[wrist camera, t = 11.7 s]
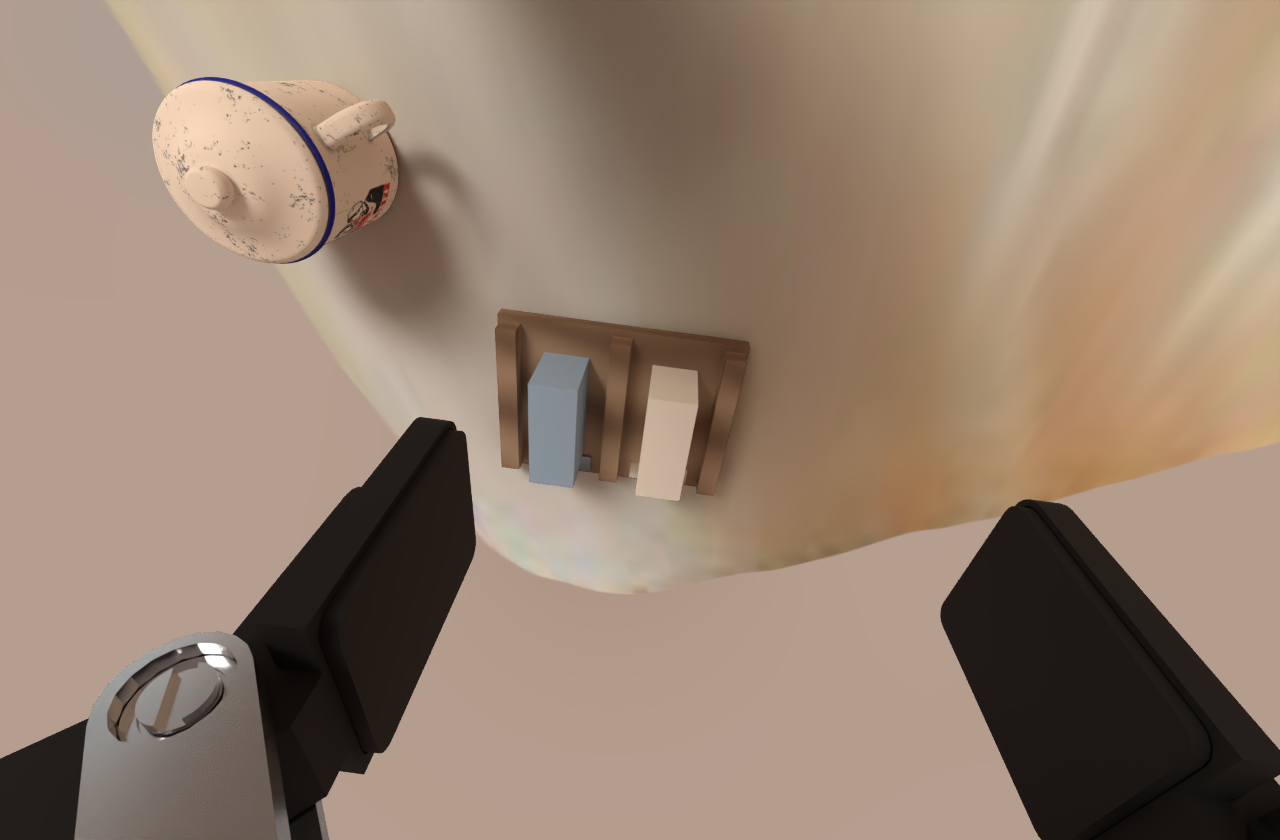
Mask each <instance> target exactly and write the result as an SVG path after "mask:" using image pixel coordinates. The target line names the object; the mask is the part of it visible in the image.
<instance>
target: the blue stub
mask: <svg viewBox="0 0 1280 840" xmlns="http://www.w3.org/2000/svg"><path fill="white" fill-rule="evenodd" d="M588 371H589V358H585V357H578V356H570V355H563V354H555V353H548V352H544V354H543V356H542V358H541V360H540V362H539V364H538V365H537V367H536V369H535V371H534V373H533V375H532V377H531V379H530V381H529V383H528V429H529V482H533V483H540V484H547V485H555V486H562V487H569V488H573V486H574V483H575V479H576V476H577V472H578V469H579V465H580V462H581V458H582V455H583V451H584V438H585V421H586V404H587V388H588Z"/></svg>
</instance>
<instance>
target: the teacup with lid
mask: <svg viewBox="0 0 1280 840" xmlns="http://www.w3.org/2000/svg"><path fill="white" fill-rule="evenodd" d="M394 123H395V115H394V113H393V111H392V110H391V108H390V106H389V105H388V104H387V103H386V102H385V101H383V100H379V99H371V100H366V101H362V102H361V101H360V100H359V99H357V98H356V97H355V96H353V95H352V94H350V93H349V92H347V91H345V90H344V89H342V88H340V87H337V86H335V85H332V84H329V83H326V82H322V81H315V80H300V81H264V82H237V81H234V80H230V79H225V78H218V77H204V78H197V79H193V80H190V81H187V82H185V83H183V84H181V85H180V86H178V87H177V88H176V89H174V90H173V91H172V92H170V93H169V94H168V95H167V96H166V98H165V99H164V100H163V101H162V103H161V105H160V107H159V108H158V111H157V114H156V116H155V121H154V125H153V148H154V153H155V158H156V161H157V165H158V168H159V171H160V174H161V176H162V178H163V181H164V183H165V185H166V187H167V188H168V190H169V192H170V194H171V195H172V197H173V198H174V200H175V201H176V203H177V204H178V206H179V207H180V208H181V210H182V211H183V212H184V213H185V214H186V216H187V217H188V218H189V219H190V220H191V221H192V222H193V223H194V224H195V225H196V226H197V227H198V228H199V229H200V230H201V231H202V232H204V233H205V234H206V235H207V236H208V237H210V238H211V239H212V240H214V241H215V242H217V243H218V244H220V245H221V246H223V247H224V248H226V249H228V250H230V251H232V252H234V253H236V254H238V255H241V256H243V257H246V258H249V259H252V260H255V261H260V262H266V263H277V264H286V263H294V262H298V261H302V260H304V259H306V258H309V257H310V256H312V255H314V254H315V253H316V252H317V251H319V250H320V249H321V248H322V247H323V245H325V244H327V243H329V242H331V241H333V240H335V239H337V238H339V237H341V236H344V235H346V234H348V233H350V232H352V231H354V230H356V229H358V228H360V227H362V226H365V225H367V224H369V223H371V222H373V221H375V220H377V219H378V218H380V217H381V216H382V215H383V214H384V213H385V212H386V211H387V210H388V209H389V207H390V206H391V204H392V202H393V200H394V198H395V195H396V192H397V187H398V165H397V159H396V155H395V152H394V148H393V146H392V143H391V141H390V139H389V137H388V135H387V133H386V132H387V131H388V130H389V129H390V128H391V127H392V126H393V125H394Z"/></svg>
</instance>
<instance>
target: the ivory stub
mask: <svg viewBox="0 0 1280 840" xmlns="http://www.w3.org/2000/svg"><path fill="white" fill-rule="evenodd" d="M697 410H698V371H694V370H687V369H679V368H672V367H665V366H657V365H653V366H652V374H651V381H650V388H649V396H648V403H647V410H646V418H645V425H644V432H643V440H642V447H641V454H640V462H639V469H638V477H637V484H636V492H635V495H638V496H645V497H653V498H660V499H667V500H675V501H679V499H680V494H681V489H682V484H683V479H684V474H685V469H686V464H687V459H688V454H689V449H690V444H691V440H692V435H693V430H694V425H695V420H696V415H697Z"/></svg>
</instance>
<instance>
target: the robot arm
mask: <svg viewBox="0 0 1280 840" xmlns="http://www.w3.org/2000/svg"><path fill="white" fill-rule="evenodd" d="M475 546H476V536H475V525H474V515H473V504H472V494H471V483H470V473H469V462H468V452H467V442H466V435H465V433H464V432H463V431H457V430H456V426H455V424H454V422H452V421H446V420H438V419H431V418H424V417H419V418H416V419H415V420H414V421H413V423H412V424H411V425H410V426H409V428H408V429H407V430H406V431H405V433H404V434H403V435H402V436H401V438H400V439H399V440H398V441H397V443H396V444H395V445H394V447H393V448H392V449H391V450H390V452H389V453H388V454H387V455H386V457H385V458H384V459H383V460H382V462H381V463H380V464H379V466H378V467H377V468H376V469H375V471H374V472H373V473H372V475H371V476H370V477H369V478H368V479H367V481H366V482H365V483H364V485H363V486H362V487H357V488H354V489H352V490H351V491H350V492H349V493H348V494H347V495H346V496H345V497H344V498H343V499H342V500H341V502H340V503H339V504H338V505H337V507H336V508H335V509H334V510H333V511H332V513H331V514H330V515H329V516H328V518H327V519H326V520H325V521H324V523H323V524H322V525H321V526H320V528H319V529H318V530H317V531H316V532H315V534H314V535H313V536H312V537H311V539H310V540H309V541H308V542H307V543H306V545H305V546H304V547H303V548H302V550H301V551H300V552H299V553H298V555H297V556H296V557H295V558H294V560H293V561H292V562H291V563H290V564H289V566H288V567H287V568H286V569H285V571H284V572H283V573H282V574H281V575H280V577H279V578H278V579H277V580H276V582H275V583H274V584H273V585H272V587H271V588H270V589H269V590H268V592H267V593H266V594H265V595H264V597H263V598H262V599H261V600H260V601H259V603H258V604H257V605H256V606H255V607H254V609H253V610H252V611H251V612H250V614H249V615H248V616H247V617H246V619H245V620H244V621H243V622H242V624H241V625H240V626H239V627H238V628H237V630H236V631H235V632H234V633H233V635H231V634H227V633H223V632H203V633H196V634H192V635H189V636H184V637H181V638H177V639H174V640H172V641H170V642H168V643H165V644H163V645H161V646H159V647H157V648H155V649H152V650H150V651H149V652H147V653H146V654H144V655H143V656H142V657H140V658H139V659H137V660H136V661H134V662H133V663H131V664H130V665H128V666H127V667H126V668H125V669H124V670H123V671H122V672H120V673H119V674H118V675H117V676H116V677H115V678H114V679H113V680H112V681H111V682H110V683H109V684H108V685H107V686H106V688H105V689H104V690H103V692H102V693H101V695H100V696H99V698H98V699H97V701H96V702H95V704H94V705H93V707H92V710H91V713H90V716H89V718H88V719H86V720H84V721H82V722H80V723H78V724H75V725H73V726H71V727H69V728H67V729H64V730H62V731H60V732H58V733H56V734H53V735H51V736H49V737H47V738H45V739H43V740H40V741H38V742H36V743H34V744H31V745H29V746H27V747H25V748H23V749H21V750H19V751H16V752H14V753H12V754H10V755H7V756H5V757H3V758H1V759H0V840H329V837H328V831H327V826H326V821H325V816H324V811H323V806H322V800H321V799H323V798H324V797H326V796H327V795H328V792H329V790H330V789H331V787H332V785H333V783H334V781H335V779H336V777H337V775H338V773H339V771H343V772H350V773H358V774H364V773H365V771H366V769H367V767H368V765H369V763H370V760H371V758H372V756H373V754H374V753H383V752H384V751H385V750H386V749H387V747H388V746H389V744H390V742H391V740H392V738H393V736H394V733H395V732H396V729H397V727H398V725H399V722H400V720H401V718H402V716H403V714H404V711H405V709H406V707H407V705H408V702H409V700H410V698H411V696H412V693H413V691H414V689H415V687H416V684H417V682H418V680H419V678H420V676H421V673H422V671H423V669H424V667H425V664H426V662H427V660H428V658H429V655H430V653H431V651H432V649H433V646H434V644H435V642H436V640H437V638H438V635H439V633H440V631H441V629H442V626H443V624H444V622H445V620H446V617H447V615H448V613H449V611H450V608H451V606H452V604H453V602H454V599H455V597H456V595H457V593H458V591H459V588H460V586H461V584H462V581H463V579H464V577H465V575H466V573H467V570H468V568H469V566H470V563H471V561H472V559H473V556H474V552H475ZM941 622H942V625H943V628H944V630H945V632H946V634H947V636H948V639H949V641H950V643H951V645H952V648H953V650H954V652H955V654H956V656H957V659H958V661H959V663H960V665H961V668H962V670H963V672H964V674H965V676H966V678H967V681H968V683H969V685H970V687H971V689H972V692H973V694H974V696H975V698H976V701H977V703H978V705H979V707H980V709H981V712H982V714H983V716H984V718H985V721H986V723H987V725H988V727H989V729H990V732H991V734H992V736H993V738H994V740H995V743H996V745H997V747H998V749H999V752H1000V754H1001V756H1002V758H1003V760H1004V763H1005V765H1006V767H1007V769H1008V772H1009V774H1010V776H1011V778H1012V780H1013V783H1014V785H1015V787H1016V789H1017V791H1018V793H1019V796H1020V798H1021V800H1022V802H1023V805H1024V807H1025V809H1026V811H1027V814H1028V816H1029V818H1030V820H1031V822H1032V825H1033V827H1034V829H1035V831H1036V832H1037V834H1038V836H1039V837H1040V839H1041V840H1280V785H1279V784H1278V783H1277V782H1276V781H1275V779H1274V778H1275V777H1277V776H1278V775H1280V750H1279V749H1278V747H1277V746H1276V745H1275V744H1274V743H1273V742H1272V741H1271V739H1270V738H1269V737H1268V736H1267V735H1266V734H1265V733H1264V731H1263V730H1262V729H1261V728H1260V727H1259V726H1258V724H1257V723H1256V722H1255V721H1254V720H1253V719H1252V718H1251V716H1250V715H1249V714H1248V713H1247V712H1246V711H1245V709H1244V708H1243V707H1242V706H1241V705H1240V704H1239V702H1238V701H1237V700H1236V699H1235V698H1234V697H1233V695H1232V694H1231V693H1230V692H1229V691H1228V690H1227V689H1226V687H1225V686H1224V685H1223V684H1222V683H1221V682H1220V680H1219V679H1218V678H1217V677H1216V676H1215V675H1214V674H1213V672H1212V671H1211V670H1210V669H1209V668H1208V667H1207V665H1206V664H1205V663H1204V662H1203V661H1202V660H1201V658H1199V656H1198V655H1197V654H1196V653H1195V652H1194V651H1193V649H1192V648H1191V647H1190V646H1189V645H1188V643H1187V642H1186V641H1185V640H1184V639H1183V638H1182V637H1181V635H1180V634H1179V633H1178V632H1177V631H1176V630H1175V628H1174V627H1173V626H1172V625H1171V624H1170V623H1169V622H1168V620H1167V619H1166V618H1165V617H1164V616H1163V615H1162V613H1161V612H1160V611H1159V610H1158V609H1157V608H1156V606H1155V605H1154V604H1153V603H1152V602H1151V601H1150V599H1149V598H1148V597H1147V596H1146V595H1145V594H1144V593H1143V591H1142V590H1141V589H1140V588H1139V587H1138V586H1137V584H1136V583H1135V582H1134V581H1133V580H1132V579H1131V578H1130V576H1129V575H1128V574H1127V573H1126V572H1125V571H1124V569H1123V568H1122V567H1121V566H1120V565H1119V564H1118V563H1117V561H1116V560H1115V559H1114V558H1113V557H1112V556H1111V555H1110V553H1109V552H1108V551H1107V550H1106V549H1105V548H1104V546H1103V545H1102V544H1101V543H1100V542H1099V541H1098V539H1097V538H1096V537H1095V536H1094V535H1093V534H1092V533H1091V531H1090V530H1089V529H1088V528H1087V527H1086V526H1085V524H1084V523H1083V522H1082V521H1081V520H1080V519H1079V518H1078V516H1077V515H1076V514H1075V513H1074V512H1073V510H1071V509H1070V508H1069V507H1068V506H1066V505H1063V504H1059V503H1052V502H1044V501H1037V500H1030V499H1029V500H1022V501H1020V502H1018V504H1017V505H1016V506H1012V507H1010V508H1008V509H1007V510H1006V511H1005V513H1004V514H1003V516H1002V517H1001V519H1000V520H999V522H998V523H997V524H996V526H995V528H994V529H993V530H992V532H991V533H990V535H989V536H988V538H987V539H986V541H985V542H984V544H983V545H982V547H981V548H980V549H979V551H978V552H977V554H976V556H975V557H974V558H973V560H972V561H971V563H970V564H969V566H968V567H967V569H966V570H965V572H964V573H963V575H962V576H961V578H960V579H959V580H958V582H957V583H956V585H955V586H954V588H953V589H952V591H951V592H950V594H949V596H948V597H947V598H946V600H945V601H944V603H943V605H942V608H941Z"/></svg>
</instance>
